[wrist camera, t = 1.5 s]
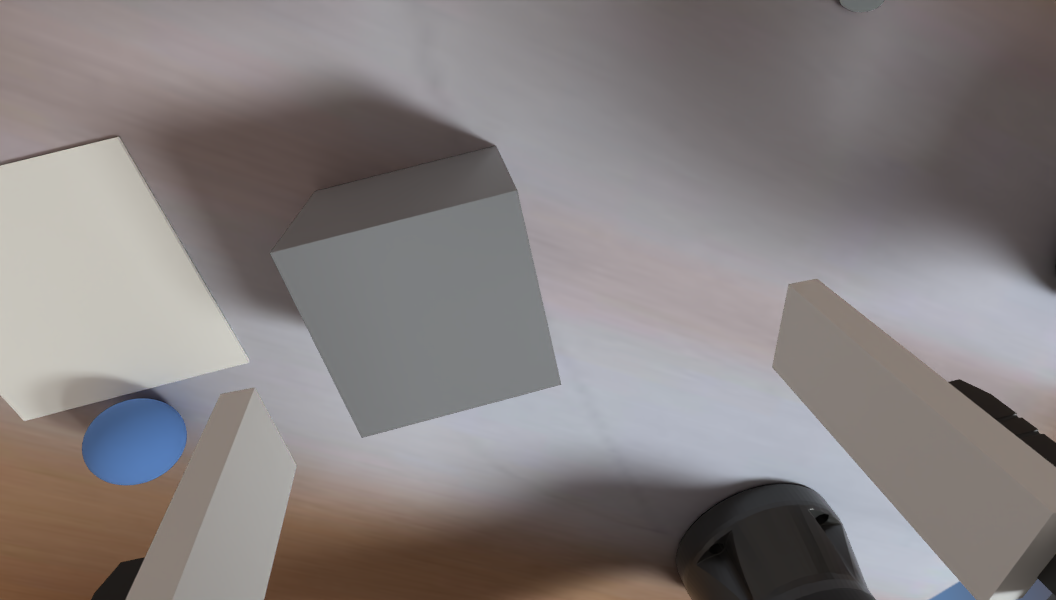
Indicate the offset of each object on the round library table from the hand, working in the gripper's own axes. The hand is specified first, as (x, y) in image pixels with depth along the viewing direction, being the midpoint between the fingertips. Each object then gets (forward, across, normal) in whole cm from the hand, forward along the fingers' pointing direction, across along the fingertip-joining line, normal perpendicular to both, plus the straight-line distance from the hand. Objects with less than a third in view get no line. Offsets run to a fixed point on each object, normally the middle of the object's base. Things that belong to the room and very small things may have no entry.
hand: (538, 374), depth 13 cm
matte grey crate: (+19, +3, +5) cm, 20 cm away
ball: (+16, +23, +13) cm, 31 cm away
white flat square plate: (+19, +24, +4) cm, 30 cm away
